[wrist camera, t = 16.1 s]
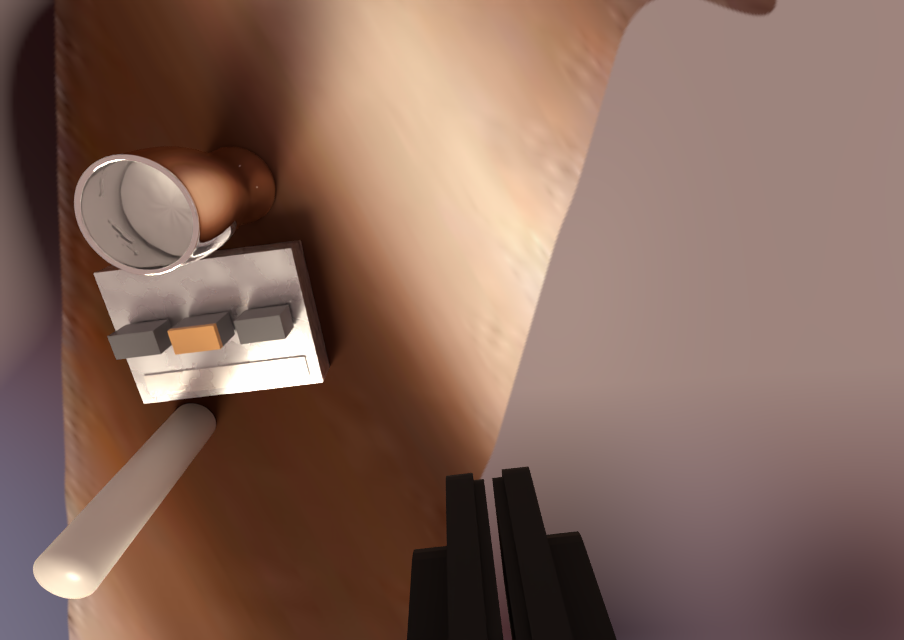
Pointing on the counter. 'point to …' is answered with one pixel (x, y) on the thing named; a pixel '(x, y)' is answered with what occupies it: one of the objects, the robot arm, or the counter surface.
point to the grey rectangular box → (140, 339)
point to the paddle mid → (201, 333)
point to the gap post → (123, 506)
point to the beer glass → (169, 204)
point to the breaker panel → (230, 290)
